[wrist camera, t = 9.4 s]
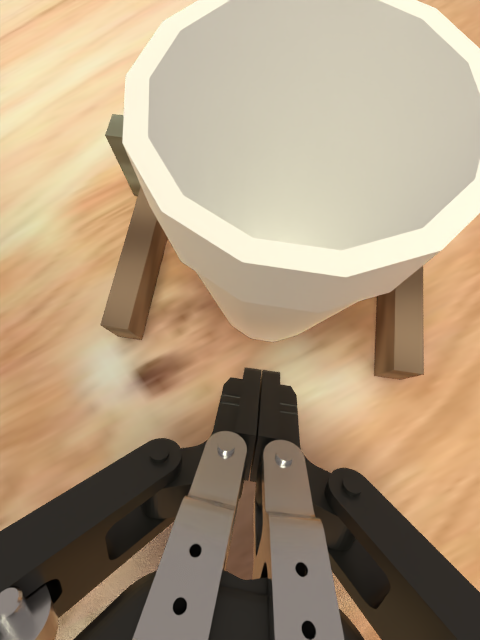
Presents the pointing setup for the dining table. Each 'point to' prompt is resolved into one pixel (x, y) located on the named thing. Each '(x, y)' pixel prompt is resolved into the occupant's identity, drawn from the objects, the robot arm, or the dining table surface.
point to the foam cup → (305, 149)
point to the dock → (145, 259)
